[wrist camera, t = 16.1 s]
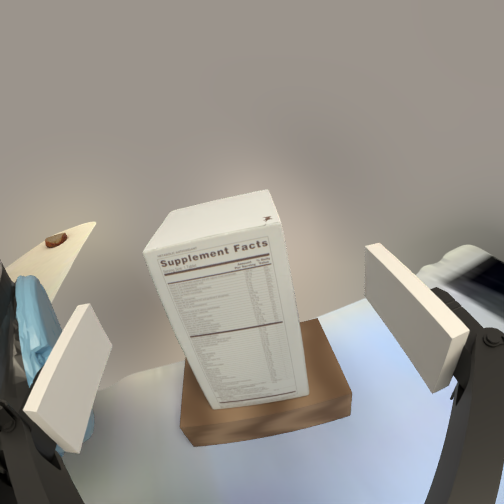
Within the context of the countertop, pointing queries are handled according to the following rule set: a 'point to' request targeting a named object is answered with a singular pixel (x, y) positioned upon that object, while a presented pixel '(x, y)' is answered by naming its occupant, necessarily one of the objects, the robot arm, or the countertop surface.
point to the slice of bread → (55, 240)
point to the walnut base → (274, 413)
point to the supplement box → (231, 299)
